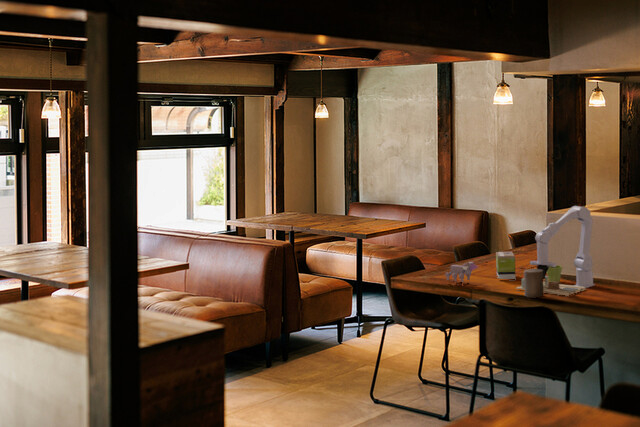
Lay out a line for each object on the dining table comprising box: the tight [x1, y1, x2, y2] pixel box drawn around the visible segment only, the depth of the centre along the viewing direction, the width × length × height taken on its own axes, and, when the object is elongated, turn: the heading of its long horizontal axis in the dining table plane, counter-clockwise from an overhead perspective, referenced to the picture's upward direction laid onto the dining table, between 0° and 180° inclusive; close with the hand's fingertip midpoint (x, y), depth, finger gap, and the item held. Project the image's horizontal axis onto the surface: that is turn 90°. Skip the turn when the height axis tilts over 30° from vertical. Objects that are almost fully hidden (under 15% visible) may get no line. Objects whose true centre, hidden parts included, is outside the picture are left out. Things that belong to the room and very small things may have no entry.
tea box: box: [495, 251, 517, 281], centre depth 467 cm, size 15×10×15 cm, turn 172°
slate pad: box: [560, 287, 578, 292], centre depth 422 cm, size 7×7×1 cm
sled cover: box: [520, 275, 549, 288], centre depth 435 cm, size 14×8×6 cm, turn 136°
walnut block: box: [548, 281, 560, 290], centre depth 427 cm, size 4×4×5 cm
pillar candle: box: [523, 267, 544, 299], centre depth 417 cm, size 10×10×15 cm
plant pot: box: [546, 264, 563, 283], centre depth 452 cm, size 9×9×9 cm
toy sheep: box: [445, 261, 479, 283], centre depth 454 cm, size 20×11×14 cm, turn 47°
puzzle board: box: [516, 281, 586, 297], centre depth 431 cm, size 20×30×2 cm, turn 46°
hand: (543, 279), depth 431 cm, fingers closed
